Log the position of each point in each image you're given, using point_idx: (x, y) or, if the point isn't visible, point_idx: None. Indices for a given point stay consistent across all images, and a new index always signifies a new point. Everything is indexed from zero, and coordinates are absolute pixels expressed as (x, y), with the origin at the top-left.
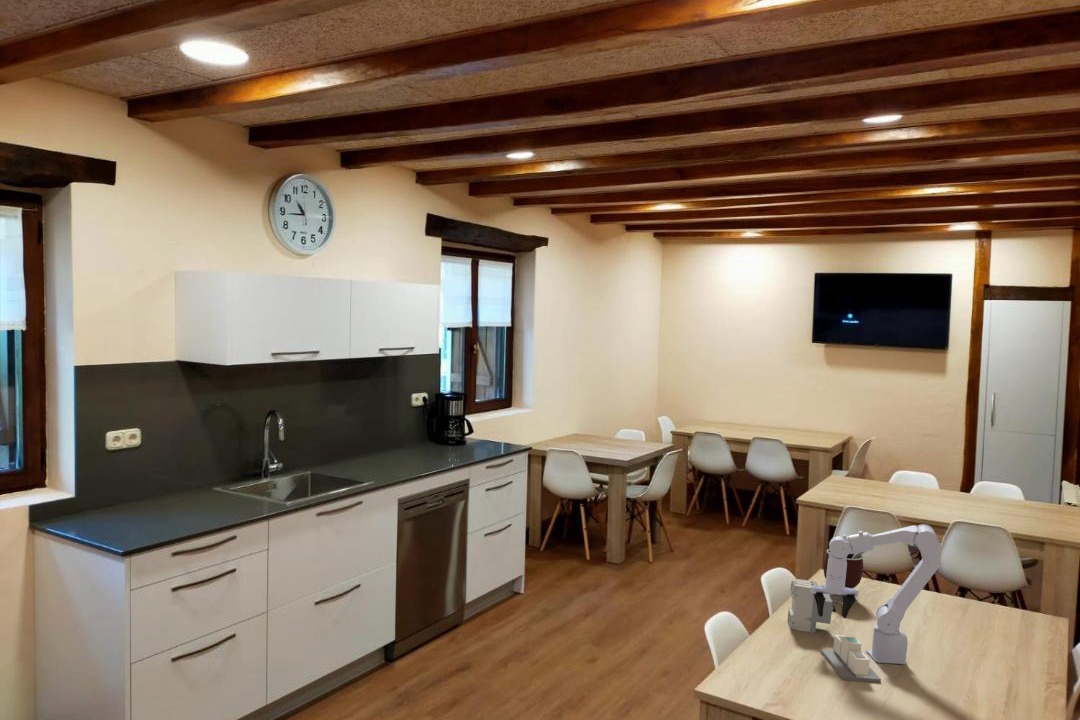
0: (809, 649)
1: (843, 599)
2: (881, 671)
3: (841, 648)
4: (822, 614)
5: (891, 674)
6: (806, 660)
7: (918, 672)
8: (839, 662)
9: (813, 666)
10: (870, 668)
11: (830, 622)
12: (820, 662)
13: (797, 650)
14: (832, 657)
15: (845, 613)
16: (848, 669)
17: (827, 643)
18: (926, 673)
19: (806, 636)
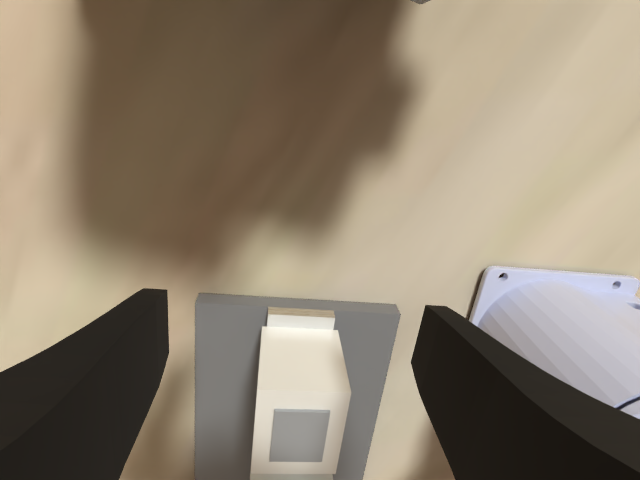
0: (140, 261)
1: (553, 463)
2: (416, 439)
3: (251, 458)
4: (156, 382)
5: (442, 455)
6: None
7: None
8: (236, 428)
9: None
10: (363, 461)
11: (425, 2)
12: None
13: (55, 279)
14: (222, 386)
15: (431, 417)
16: (249, 477)
17: (302, 169)
18: None
19: (191, 54)
